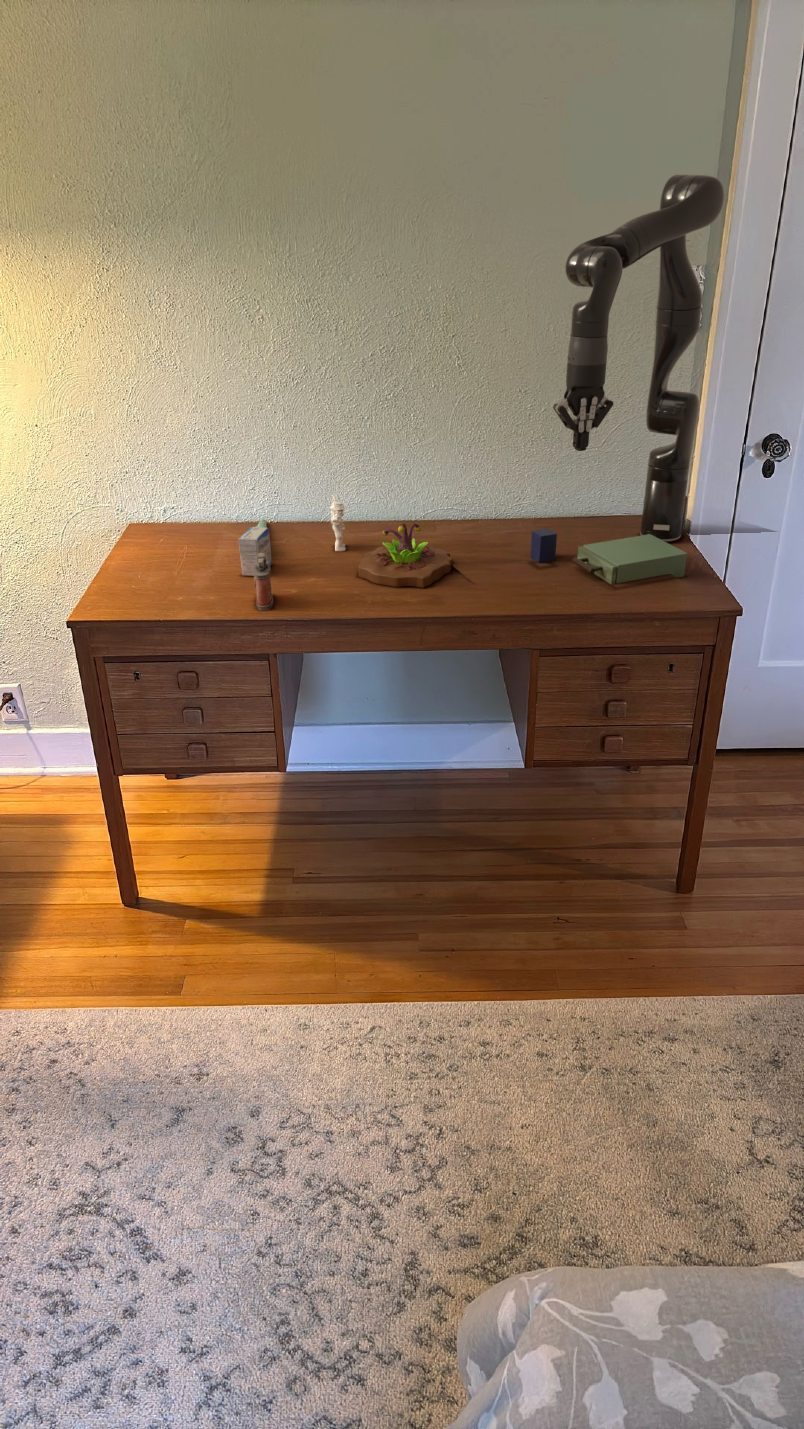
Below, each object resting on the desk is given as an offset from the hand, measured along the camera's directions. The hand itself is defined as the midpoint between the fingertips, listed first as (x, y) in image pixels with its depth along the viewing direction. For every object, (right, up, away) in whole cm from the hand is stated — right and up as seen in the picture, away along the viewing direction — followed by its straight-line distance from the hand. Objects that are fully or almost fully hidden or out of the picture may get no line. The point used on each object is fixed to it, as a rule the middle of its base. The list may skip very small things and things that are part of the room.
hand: (580, 449), depth 198 cm
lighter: (-64, -31, +3) cm, 71 cm away
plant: (-35, -22, +17) cm, 45 cm away
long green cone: (-70, -12, +35) cm, 79 cm away
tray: (+11, -23, +13) cm, 29 cm away
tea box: (-5, -20, +19) cm, 28 cm away
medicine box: (-68, -22, +19) cm, 74 cm away
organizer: (+14, -23, +15) cm, 30 cm away
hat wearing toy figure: (-51, -15, +30) cm, 61 cm away
